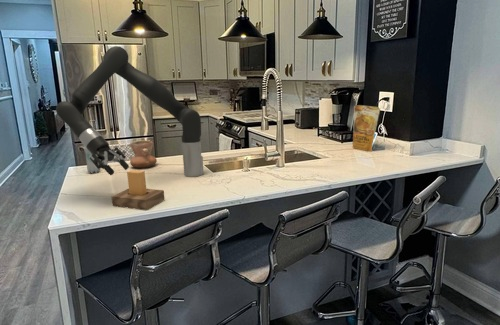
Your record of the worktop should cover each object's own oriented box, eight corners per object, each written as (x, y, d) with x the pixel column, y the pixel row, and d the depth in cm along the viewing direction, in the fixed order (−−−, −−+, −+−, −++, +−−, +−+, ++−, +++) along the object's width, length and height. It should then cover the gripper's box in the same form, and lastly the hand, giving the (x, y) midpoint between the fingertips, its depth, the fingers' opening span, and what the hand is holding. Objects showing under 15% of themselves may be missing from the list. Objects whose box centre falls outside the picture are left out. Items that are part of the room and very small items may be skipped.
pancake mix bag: (355, 146, 237) (357, 104, 230) (378, 151, 221) (381, 106, 214) (348, 147, 233) (350, 105, 227) (371, 152, 217) (373, 107, 211)
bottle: (90, 171, 192) (84, 135, 187) (102, 170, 192) (97, 134, 187) (85, 174, 185) (80, 137, 180) (98, 173, 186) (93, 136, 181)
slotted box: (112, 205, 138) (111, 196, 137) (132, 196, 149) (131, 187, 148) (146, 210, 132) (145, 200, 131) (164, 199, 143) (163, 190, 142)
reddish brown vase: (160, 167, 195) (158, 142, 192) (134, 171, 188) (131, 145, 185) (152, 162, 210) (150, 138, 207) (127, 165, 203) (124, 141, 200)
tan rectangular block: (130, 203, 140) (126, 172, 137) (135, 200, 143) (131, 170, 140) (143, 204, 138) (139, 173, 135) (147, 202, 141) (144, 171, 138)
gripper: (84, 138, 133) (112, 169, 132) (110, 132, 146) (136, 160, 145) (75, 151, 136) (103, 181, 135) (102, 144, 149) (127, 172, 148)
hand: (120, 171), depth 140 cm, fingers open, 8 cm apart
